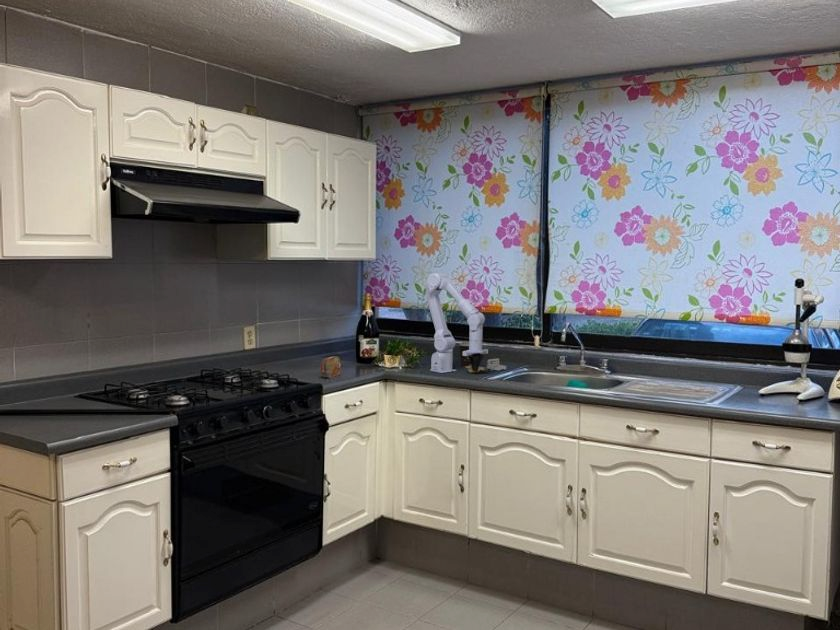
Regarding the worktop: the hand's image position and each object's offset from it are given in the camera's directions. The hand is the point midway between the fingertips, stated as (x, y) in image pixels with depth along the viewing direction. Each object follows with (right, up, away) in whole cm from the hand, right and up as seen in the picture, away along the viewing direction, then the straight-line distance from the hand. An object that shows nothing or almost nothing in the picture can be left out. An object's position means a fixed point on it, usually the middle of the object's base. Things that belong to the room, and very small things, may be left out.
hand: (475, 371), depth 332 cm
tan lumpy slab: (-62, -2, -13) cm, 63 cm away
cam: (+2, -1, +5) cm, 5 cm away
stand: (+11, 0, +15) cm, 19 cm away
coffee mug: (0, 0, +24) cm, 24 cm away
